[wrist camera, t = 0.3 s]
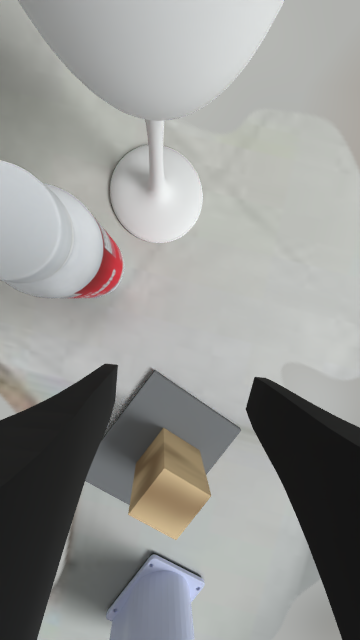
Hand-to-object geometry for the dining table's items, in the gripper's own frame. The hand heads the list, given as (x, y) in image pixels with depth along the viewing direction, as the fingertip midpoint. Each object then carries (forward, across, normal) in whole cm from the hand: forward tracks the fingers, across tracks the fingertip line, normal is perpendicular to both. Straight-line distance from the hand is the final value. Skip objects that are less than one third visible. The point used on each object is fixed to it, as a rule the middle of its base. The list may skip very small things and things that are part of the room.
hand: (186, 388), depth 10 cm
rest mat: (+8, 0, +14) cm, 16 cm away
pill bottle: (+12, +8, -5) cm, 15 cm away
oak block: (+8, -1, +14) cm, 16 cm away
